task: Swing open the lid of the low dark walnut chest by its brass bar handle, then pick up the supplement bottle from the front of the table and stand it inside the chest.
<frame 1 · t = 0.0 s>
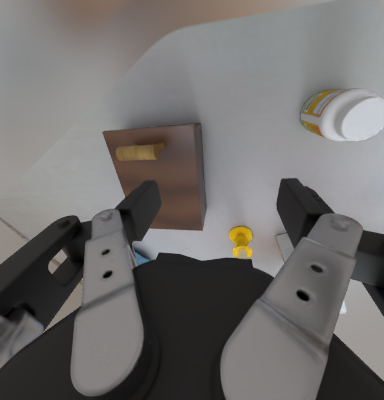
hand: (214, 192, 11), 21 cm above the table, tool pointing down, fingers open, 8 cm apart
candle: (240, 233, 40), on the table
supplement bottle: (319, 111, 25), on the table
lid: (154, 193, 26), point 9 cm above the table, hinge at 0.0°
chest: (170, 172, 34), on the table
small box: (294, 242, 38), on the table
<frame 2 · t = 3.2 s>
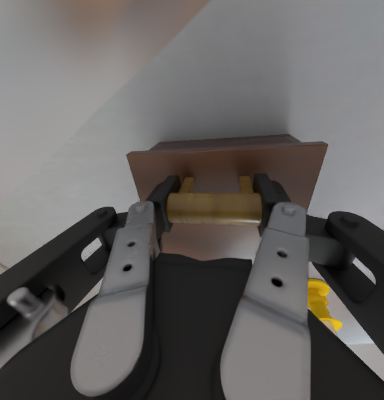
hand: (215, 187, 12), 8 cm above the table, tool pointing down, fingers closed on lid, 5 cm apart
candle: (309, 286, 28), on the table
lid: (216, 261, 15), point 9 cm above the table, hinge at 0.0°, touching gripper
chest: (220, 206, 22), on the table
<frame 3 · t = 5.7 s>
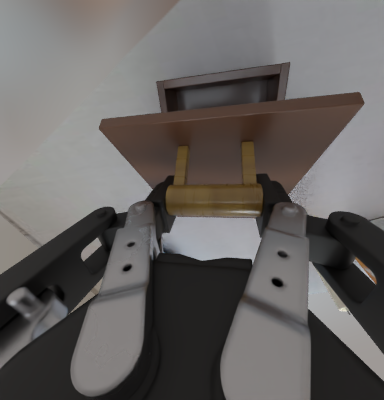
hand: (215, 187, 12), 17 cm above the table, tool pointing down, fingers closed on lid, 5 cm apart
candle: (298, 225, 32), on the table
lid: (217, 209, 16), point 14 cm above the table, hinge at 37.4°, touching gripper
chest: (220, 145, 27), on the table
small box: (367, 236, 31), on the table
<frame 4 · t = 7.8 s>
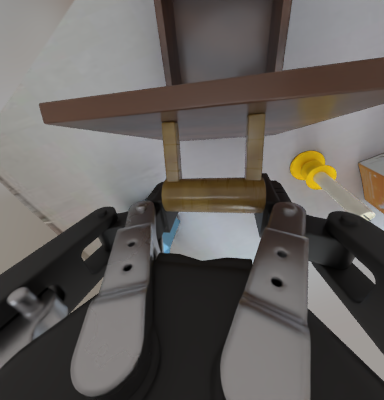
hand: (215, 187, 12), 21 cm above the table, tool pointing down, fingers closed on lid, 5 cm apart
candle: (305, 165, 29), on the table
lid: (217, 155, 15), point 16 cm above the table, hinge at 75.5°, touching gripper
chest: (221, 61, 24), on the table
small box: (382, 174, 28), on the table
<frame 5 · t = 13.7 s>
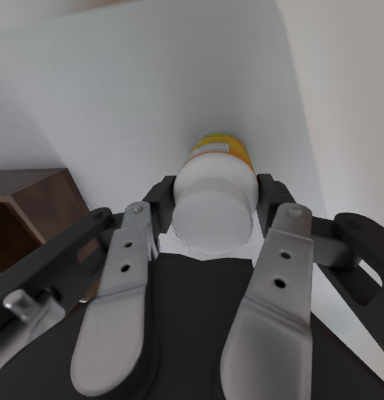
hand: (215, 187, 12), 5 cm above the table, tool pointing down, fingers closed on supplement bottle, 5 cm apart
supplement bottle: (218, 159, 16), on the table, touching gripper
chest: (58, 223, 26), on the table
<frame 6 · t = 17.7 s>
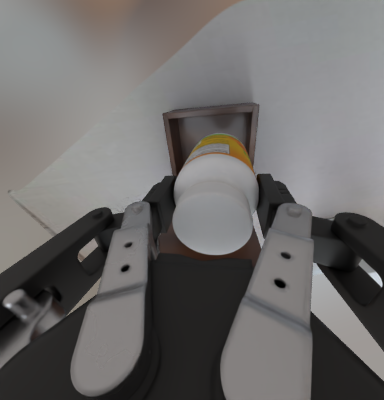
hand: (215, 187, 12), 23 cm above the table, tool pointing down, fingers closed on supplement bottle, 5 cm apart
supplement bottle: (218, 160, 16), point 17 cm above the table, touching gripper
lid: (207, 251, 25), point 16 cm above the table, hinge at 76.0°
chest: (212, 156, 33), on the table
when the fingers open (6 cm above the table, at t = 21.7 s): supplement bottle stays where it is, resting on chest.
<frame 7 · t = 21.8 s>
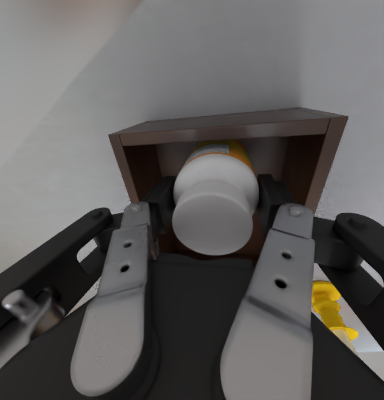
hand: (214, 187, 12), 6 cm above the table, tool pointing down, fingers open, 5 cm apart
candle: (317, 290, 25), on the table
supplement bottle: (218, 160, 16), point 1 cm above the table, touching chest
chest: (218, 199, 19), on the table
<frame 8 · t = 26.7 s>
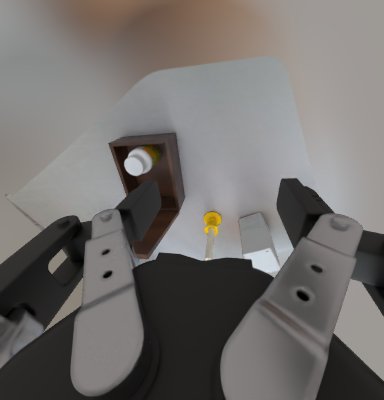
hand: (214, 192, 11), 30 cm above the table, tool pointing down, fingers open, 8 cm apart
candle: (212, 218, 50), on the table
supplement bottle: (151, 152, 42), point 1 cm above the table, touching chest
lid: (138, 237, 36), point 16 cm above the table, hinge at 76.0°
chest: (156, 169, 45), on the table
small box: (254, 224, 49), on the table
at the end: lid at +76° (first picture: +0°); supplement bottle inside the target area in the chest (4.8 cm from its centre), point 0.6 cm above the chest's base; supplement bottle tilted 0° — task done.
